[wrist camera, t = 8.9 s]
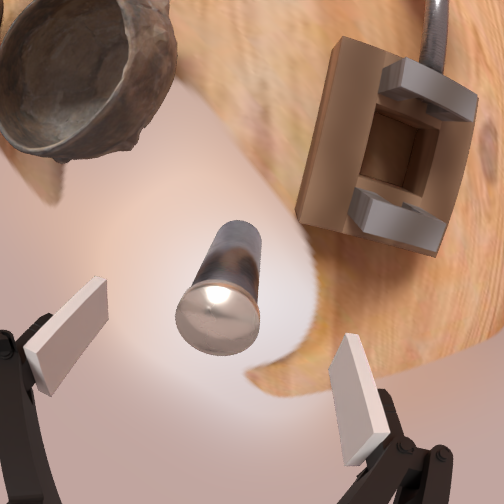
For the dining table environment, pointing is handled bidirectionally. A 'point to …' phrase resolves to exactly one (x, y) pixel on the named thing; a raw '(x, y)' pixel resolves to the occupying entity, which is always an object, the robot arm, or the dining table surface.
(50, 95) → the bowl
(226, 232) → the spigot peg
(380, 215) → the dock block
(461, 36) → the dining table surface
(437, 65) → the pin
